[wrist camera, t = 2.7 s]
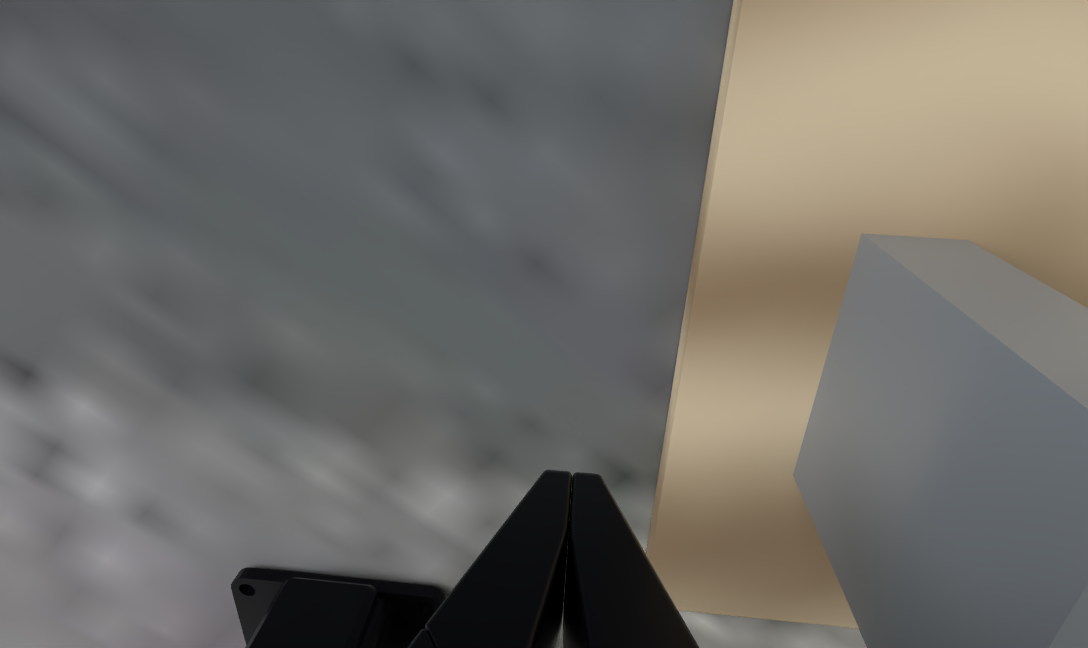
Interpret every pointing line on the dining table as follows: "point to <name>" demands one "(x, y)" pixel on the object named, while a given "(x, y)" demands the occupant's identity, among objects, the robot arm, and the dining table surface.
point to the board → (846, 246)
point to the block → (953, 451)
